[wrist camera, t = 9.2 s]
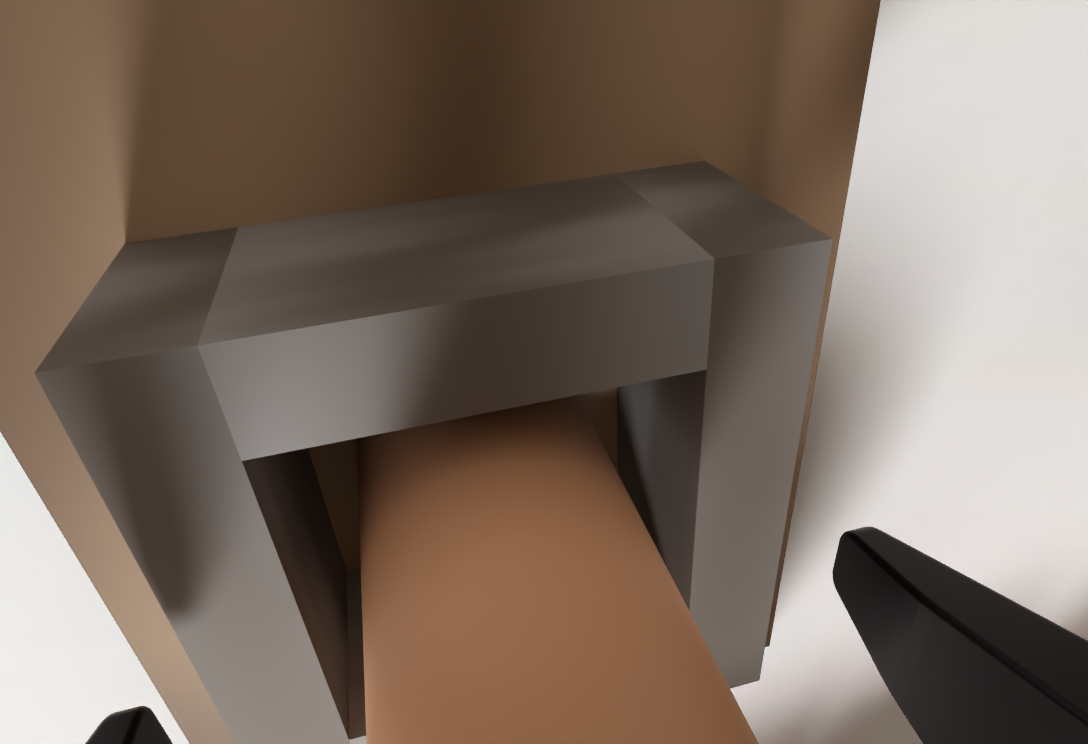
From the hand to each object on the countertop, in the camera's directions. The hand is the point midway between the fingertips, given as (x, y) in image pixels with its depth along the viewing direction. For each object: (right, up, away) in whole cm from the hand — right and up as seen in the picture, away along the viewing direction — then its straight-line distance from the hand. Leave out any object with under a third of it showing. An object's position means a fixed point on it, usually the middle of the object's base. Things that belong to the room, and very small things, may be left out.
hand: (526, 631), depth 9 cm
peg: (-1, +2, +4) cm, 4 cm away
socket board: (-1, +3, +5) cm, 6 cm away
